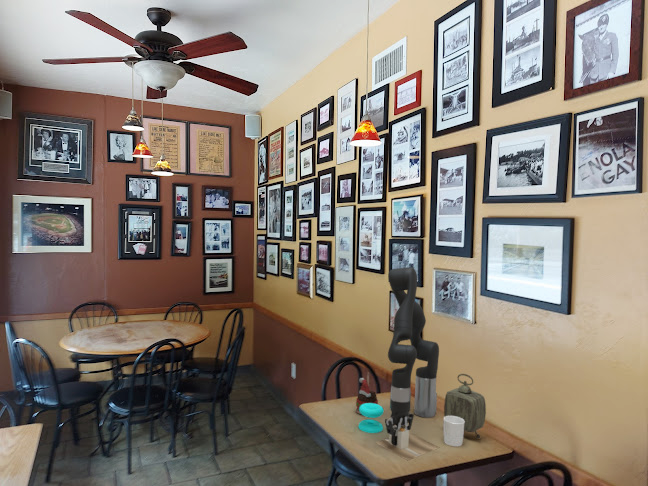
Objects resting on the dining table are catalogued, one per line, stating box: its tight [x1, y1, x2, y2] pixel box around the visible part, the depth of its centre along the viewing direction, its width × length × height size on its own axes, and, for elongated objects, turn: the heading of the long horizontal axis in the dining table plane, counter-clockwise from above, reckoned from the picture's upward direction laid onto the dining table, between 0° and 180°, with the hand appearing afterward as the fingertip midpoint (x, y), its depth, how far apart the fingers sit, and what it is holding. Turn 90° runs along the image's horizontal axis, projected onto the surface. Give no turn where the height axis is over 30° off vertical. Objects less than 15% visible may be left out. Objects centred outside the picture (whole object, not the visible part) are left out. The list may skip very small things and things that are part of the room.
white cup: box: [442, 416, 465, 447], centre depth 170 cm, size 8×8×10 cm
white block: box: [388, 425, 410, 449], centre depth 165 cm, size 4×6×7 cm, turn 38°
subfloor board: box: [375, 432, 440, 461], centre depth 166 cm, size 18×16×1 cm
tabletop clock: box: [443, 373, 487, 439], centre depth 179 cm, size 14×9×25 cm, turn 43°
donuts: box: [358, 403, 385, 434], centre depth 180 cm, size 10×10×10 cm
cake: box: [355, 372, 379, 415], centre depth 199 cm, size 11×9×18 cm
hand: (398, 443), depth 165 cm, fingers closed on white block, 4 cm apart
